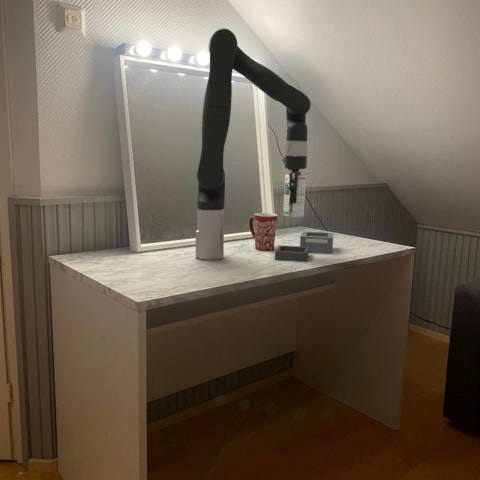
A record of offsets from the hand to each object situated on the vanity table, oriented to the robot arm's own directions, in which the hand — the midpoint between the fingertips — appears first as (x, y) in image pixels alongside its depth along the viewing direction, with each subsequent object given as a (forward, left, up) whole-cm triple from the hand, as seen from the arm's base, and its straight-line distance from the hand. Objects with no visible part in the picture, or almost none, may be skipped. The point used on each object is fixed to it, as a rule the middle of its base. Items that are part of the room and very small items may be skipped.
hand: (294, 201), depth 173 cm
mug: (-13, +13, -20) cm, 27 cm away
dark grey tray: (0, 0, -20) cm, 20 cm away
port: (+8, +16, -20) cm, 27 cm away
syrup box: (0, 0, -5) cm, 5 cm away
